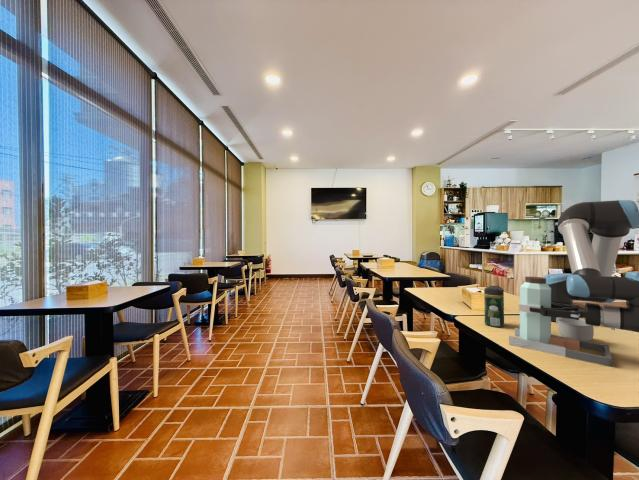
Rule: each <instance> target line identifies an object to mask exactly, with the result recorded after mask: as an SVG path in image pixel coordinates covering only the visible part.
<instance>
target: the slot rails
mask: <svg viewBox="0 0 639 480" xmlns="http://www.w3.org/2000/svg"><path fill="white" fill-rule="evenodd" d="M551 336H555V337H561V338H567V337H564V336H561V335H560V334H559V335H558V334H552V333H551ZM508 345H510V346H514V347H519V348H525V349H529V350H532V351H533V350H534V351H539V352H543V353H548V354H552V355H557V356H561V357H565V349H566V347H564V346H558V345H553V344H550V343H549V344H548V343H543V342H538V341H533V340H528V339H523V338H520V327H514V336H513V335H512V336H511V335H509V336H508Z"/></svg>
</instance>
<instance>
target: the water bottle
mask: <svg viewBox="0 0 639 480" xmlns="http://www.w3.org/2000/svg"><path fill="white" fill-rule="evenodd" d="M524 279H525V280H524V281H525V282H524V283H522V284H521V285H520V287H519V304H525V305H533V306H541V305H542V306H543V308H551V287H550V286H549V285H548V284H547V283H546V278H543V277H541V276H525V277H524ZM519 329H520V336H519V338H523V339H528V340H533V341H538V342H543V343H548V344H550V336H551V334H552V321H551V317H549V316H542V314H536V313H529V312H522V311H519Z"/></svg>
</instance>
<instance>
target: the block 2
mask: <svg viewBox="0 0 639 480" xmlns="http://www.w3.org/2000/svg"><path fill="white" fill-rule="evenodd" d="M564 347H566V349H569V350H574V351H579V352H580V348H579V340H576V339H570V338H565V339H564Z"/></svg>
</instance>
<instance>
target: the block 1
mask: <svg viewBox="0 0 639 480" xmlns="http://www.w3.org/2000/svg"><path fill="white" fill-rule="evenodd" d="M564 339H565V338H561V337H555V336H550V343H549V344H553V345H558V346H564Z"/></svg>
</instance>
